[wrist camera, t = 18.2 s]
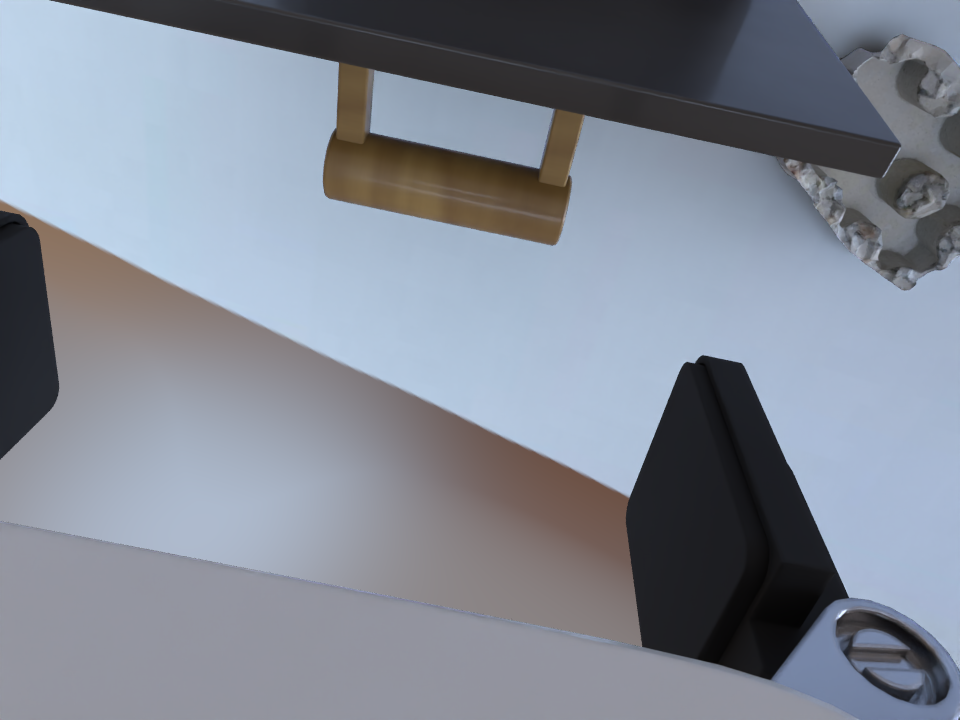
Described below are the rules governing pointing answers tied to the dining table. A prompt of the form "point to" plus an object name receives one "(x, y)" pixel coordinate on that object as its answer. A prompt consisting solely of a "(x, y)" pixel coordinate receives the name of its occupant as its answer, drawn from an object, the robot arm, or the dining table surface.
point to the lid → (555, 88)
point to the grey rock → (899, 166)
